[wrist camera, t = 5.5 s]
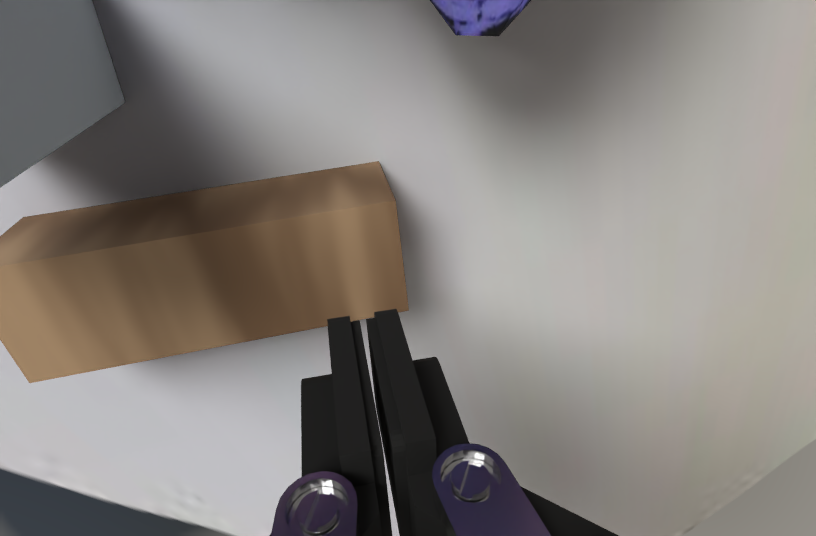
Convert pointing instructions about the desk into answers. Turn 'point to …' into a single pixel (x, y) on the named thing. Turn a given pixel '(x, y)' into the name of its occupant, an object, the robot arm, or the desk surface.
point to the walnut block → (198, 270)
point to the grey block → (50, 78)
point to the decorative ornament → (479, 15)
